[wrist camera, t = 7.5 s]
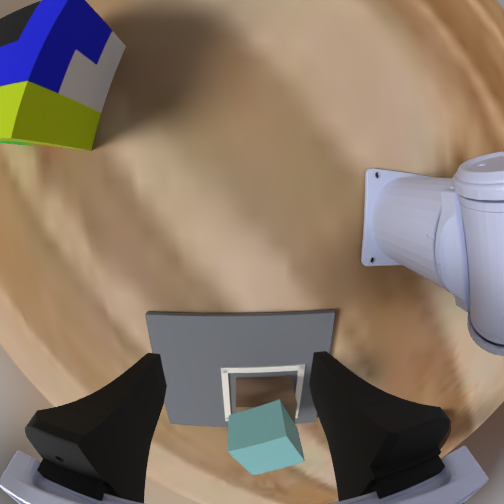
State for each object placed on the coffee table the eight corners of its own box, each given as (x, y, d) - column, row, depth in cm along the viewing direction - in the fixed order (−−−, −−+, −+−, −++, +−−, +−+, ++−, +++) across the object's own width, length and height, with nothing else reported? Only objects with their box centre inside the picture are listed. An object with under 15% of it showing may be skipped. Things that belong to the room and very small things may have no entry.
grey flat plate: (332, 309, 23) (335, 313, 22) (314, 417, 26) (315, 422, 25) (147, 311, 22) (144, 315, 21) (171, 419, 25) (170, 424, 25)
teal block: (279, 399, 19) (286, 435, 15) (297, 427, 20) (304, 461, 16) (228, 415, 20) (227, 451, 16) (250, 441, 21) (252, 475, 17)
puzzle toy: (126, 46, 17) (74, -11, 7) (91, 150, 19) (11, 138, 9) (49, 54, 16) (-8, 23, 6) (20, 144, 18) (-51, 140, 8)
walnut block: (290, 375, 23) (297, 404, 20) (286, 410, 25) (291, 438, 21) (235, 377, 23) (235, 407, 19) (237, 412, 24) (237, 441, 21)
